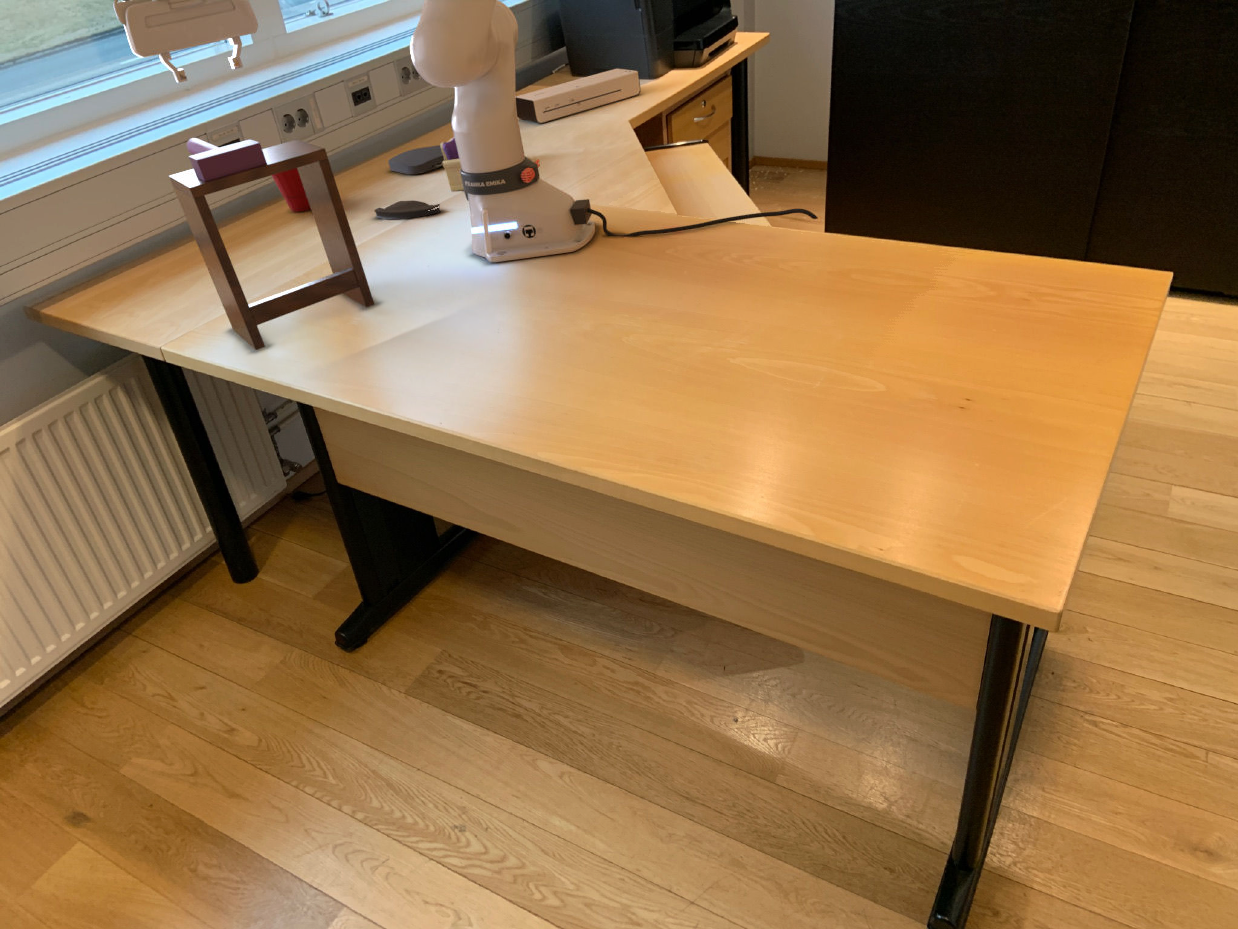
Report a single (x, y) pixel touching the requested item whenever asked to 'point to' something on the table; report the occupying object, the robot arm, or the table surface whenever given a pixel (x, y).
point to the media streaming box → (417, 160)
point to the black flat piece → (406, 210)
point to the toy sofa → (452, 164)
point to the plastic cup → (292, 190)
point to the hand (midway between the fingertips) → (210, 74)
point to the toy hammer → (224, 158)
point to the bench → (327, 219)
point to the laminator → (578, 95)
